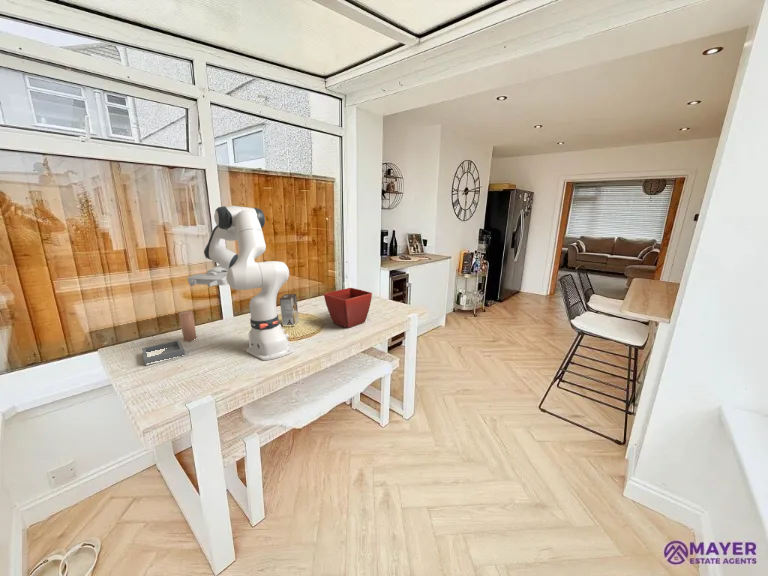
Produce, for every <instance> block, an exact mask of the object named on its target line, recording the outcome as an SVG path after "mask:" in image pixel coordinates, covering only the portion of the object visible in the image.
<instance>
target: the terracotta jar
mask: <svg viewBox="0 0 768 576" xmlns="http://www.w3.org/2000/svg"><path fill="white" fill-rule="evenodd" d="M178 317H179V321H180V327H181V332H182V338H183V341H184V340H185V341H190V342H192V341H191V340H194V339H196V338H197V339H198V336H197V331H196V325H195V320H194V314H193V311H192V310H184V311H181V312H178ZM197 339H196V340H197ZM185 341H184V342H185ZM194 341H195V340H194Z"/></svg>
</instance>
